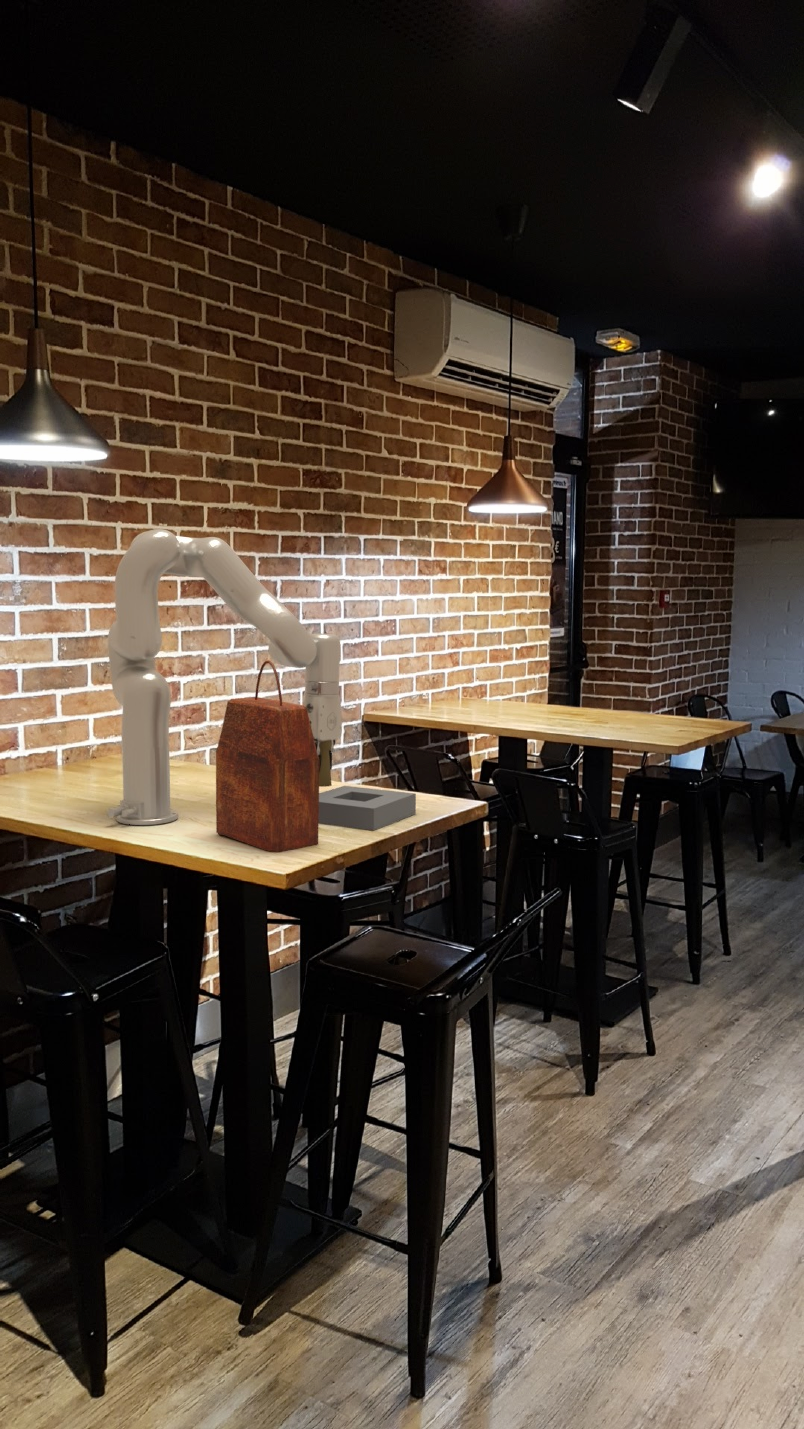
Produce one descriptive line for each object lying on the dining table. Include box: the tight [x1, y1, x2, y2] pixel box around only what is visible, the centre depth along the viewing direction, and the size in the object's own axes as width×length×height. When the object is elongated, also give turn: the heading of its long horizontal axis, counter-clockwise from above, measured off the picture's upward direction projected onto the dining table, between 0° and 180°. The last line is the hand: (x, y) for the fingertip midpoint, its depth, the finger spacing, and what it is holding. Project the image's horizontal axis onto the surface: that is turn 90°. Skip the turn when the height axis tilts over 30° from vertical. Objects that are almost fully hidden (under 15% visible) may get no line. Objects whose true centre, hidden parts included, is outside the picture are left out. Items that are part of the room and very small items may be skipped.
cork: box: [314, 739, 333, 788], centre depth 236 cm, size 6×6×11 cm
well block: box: [319, 785, 417, 831], centre depth 224 cm, size 18×18×4 cm
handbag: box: [215, 660, 320, 853], centre depth 201 cm, size 10×19×35 cm, turn 43°
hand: (319, 769), depth 236 cm, fingers closed on cork, 3 cm apart
